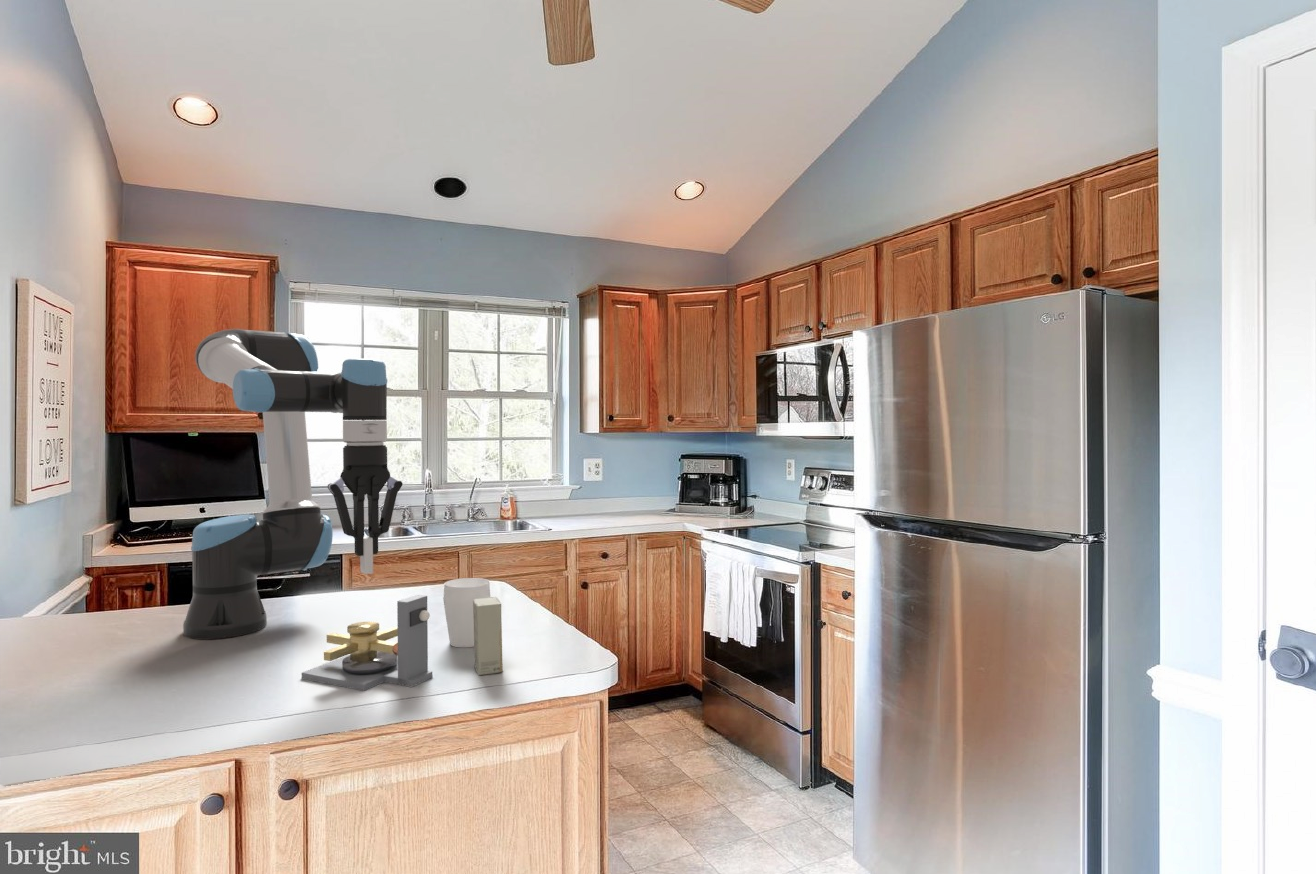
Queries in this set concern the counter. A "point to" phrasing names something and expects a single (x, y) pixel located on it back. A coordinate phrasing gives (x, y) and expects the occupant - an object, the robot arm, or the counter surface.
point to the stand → (409, 656)
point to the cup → (463, 608)
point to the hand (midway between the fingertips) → (366, 572)
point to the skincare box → (487, 635)
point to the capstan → (364, 648)
